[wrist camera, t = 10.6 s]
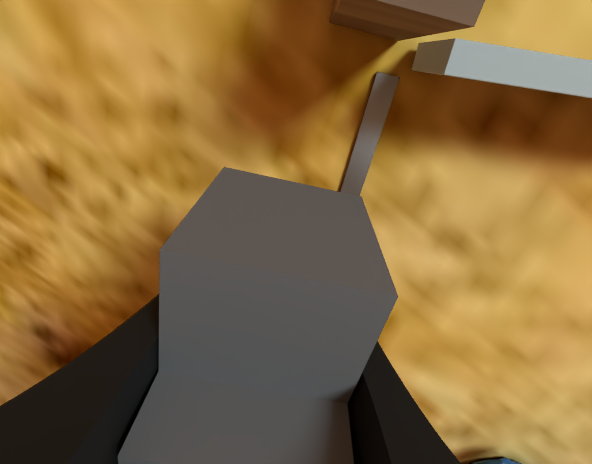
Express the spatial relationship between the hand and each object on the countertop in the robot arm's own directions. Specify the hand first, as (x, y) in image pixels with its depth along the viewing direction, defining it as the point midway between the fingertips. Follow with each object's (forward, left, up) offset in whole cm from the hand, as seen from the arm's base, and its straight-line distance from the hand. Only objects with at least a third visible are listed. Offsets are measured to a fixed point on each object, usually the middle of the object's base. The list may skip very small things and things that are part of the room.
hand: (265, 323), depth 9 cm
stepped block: (0, 0, -2) cm, 2 cm away
